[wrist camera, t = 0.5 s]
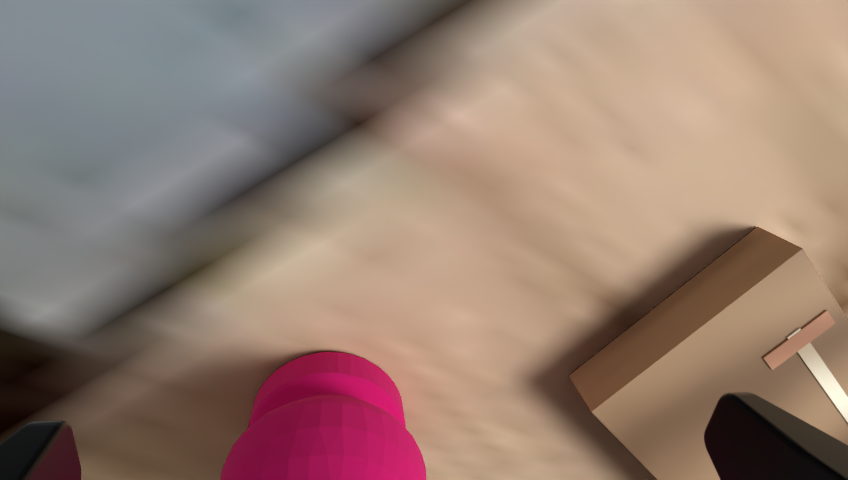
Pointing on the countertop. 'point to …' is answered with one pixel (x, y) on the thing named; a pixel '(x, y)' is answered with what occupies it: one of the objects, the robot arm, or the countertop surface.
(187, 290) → the countertop surface
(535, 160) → the countertop surface
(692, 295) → the plank
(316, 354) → the pepper mill
